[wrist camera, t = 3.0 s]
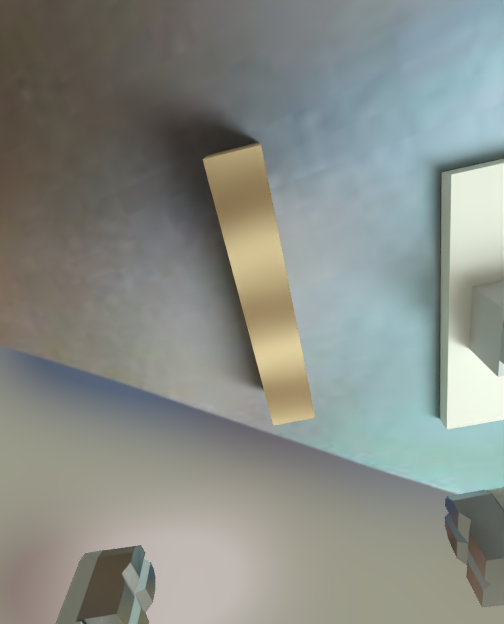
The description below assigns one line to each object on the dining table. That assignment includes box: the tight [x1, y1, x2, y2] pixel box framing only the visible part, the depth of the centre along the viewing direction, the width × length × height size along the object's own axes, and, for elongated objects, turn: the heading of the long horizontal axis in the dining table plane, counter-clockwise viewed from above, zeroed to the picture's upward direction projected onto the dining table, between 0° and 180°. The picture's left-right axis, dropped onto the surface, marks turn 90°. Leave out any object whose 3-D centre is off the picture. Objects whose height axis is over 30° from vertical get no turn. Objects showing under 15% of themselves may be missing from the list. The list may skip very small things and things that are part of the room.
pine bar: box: [203, 142, 315, 425], centre depth 24 cm, size 18×3×4 cm, turn 13°
